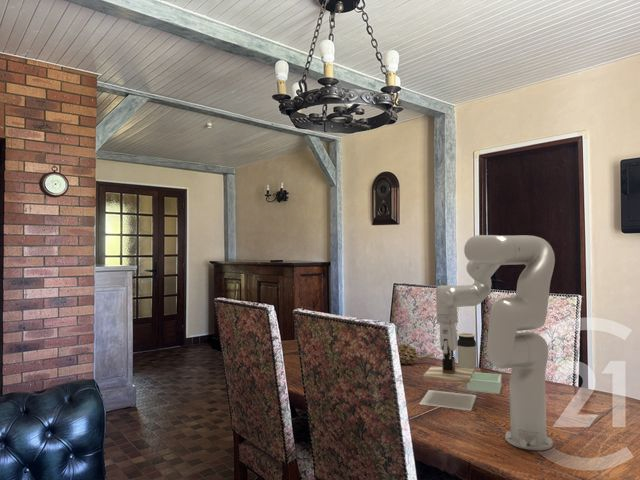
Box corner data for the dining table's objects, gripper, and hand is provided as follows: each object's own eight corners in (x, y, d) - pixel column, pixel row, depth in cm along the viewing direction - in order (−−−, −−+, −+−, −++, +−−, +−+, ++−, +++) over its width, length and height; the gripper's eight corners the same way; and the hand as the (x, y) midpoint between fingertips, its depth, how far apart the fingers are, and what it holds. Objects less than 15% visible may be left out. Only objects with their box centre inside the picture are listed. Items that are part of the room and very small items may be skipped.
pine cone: (391, 366, 221) (391, 346, 221) (388, 362, 231) (388, 342, 231) (437, 366, 221) (437, 345, 221) (432, 361, 230) (432, 341, 231)
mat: (471, 412, 158) (471, 410, 158) (419, 405, 165) (419, 404, 165) (476, 396, 174) (476, 395, 174) (428, 391, 182) (428, 389, 182)
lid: (469, 382, 159) (468, 364, 159) (422, 378, 165) (422, 361, 166) (474, 372, 173) (473, 355, 174) (431, 369, 180) (431, 353, 180)
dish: (499, 395, 176) (499, 382, 176) (467, 391, 181) (466, 379, 181) (501, 386, 187) (501, 374, 187) (470, 383, 191) (470, 371, 192)
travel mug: (479, 377, 201) (478, 335, 202) (460, 377, 202) (460, 336, 202) (473, 372, 209) (472, 332, 210) (455, 372, 209) (455, 332, 210)
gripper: (454, 321, 161) (456, 374, 160) (460, 316, 177) (462, 364, 176) (432, 321, 164) (434, 373, 163) (440, 316, 180) (442, 363, 179)
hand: (448, 368), depth 170 cm, fingers closed on lid, 4 cm apart
